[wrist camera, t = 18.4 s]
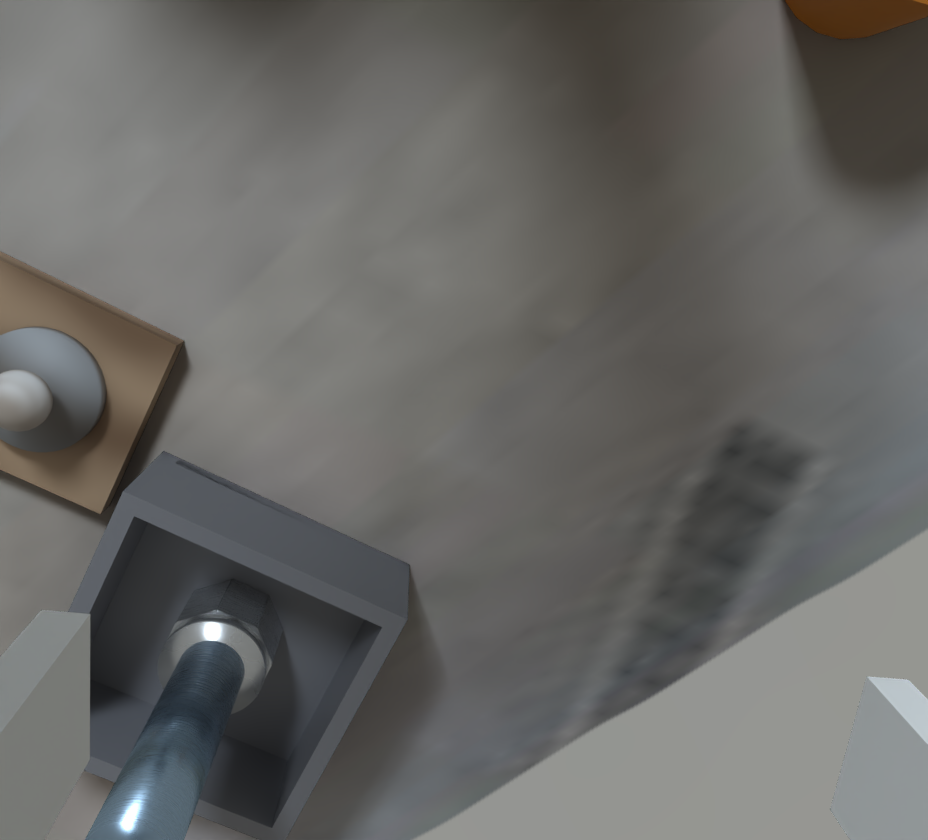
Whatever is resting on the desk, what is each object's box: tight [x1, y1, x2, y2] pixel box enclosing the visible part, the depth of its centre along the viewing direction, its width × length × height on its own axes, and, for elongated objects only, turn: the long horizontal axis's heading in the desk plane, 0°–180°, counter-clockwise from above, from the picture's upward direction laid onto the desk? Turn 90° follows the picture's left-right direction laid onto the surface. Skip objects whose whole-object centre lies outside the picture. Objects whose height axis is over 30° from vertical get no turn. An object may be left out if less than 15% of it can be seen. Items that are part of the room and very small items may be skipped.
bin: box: [68, 451, 410, 840], centre depth 50 cm, size 16×16×7 cm
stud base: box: [0, 252, 184, 514], centre depth 46 cm, size 11×11×6 cm
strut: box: [85, 579, 283, 840], centre depth 43 cm, size 6×6×19 cm
